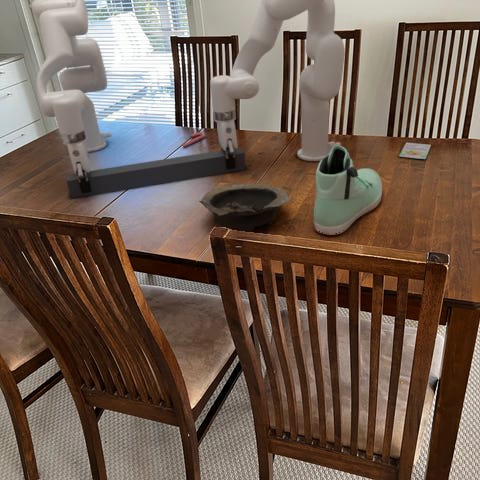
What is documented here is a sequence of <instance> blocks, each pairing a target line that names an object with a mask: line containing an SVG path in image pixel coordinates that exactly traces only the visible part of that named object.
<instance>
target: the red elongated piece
mask: <svg viewBox="0 0 480 480" xmlns="http://www.w3.org/2000/svg"><path fill="white" fill-rule="evenodd" d="M190 137H191V138H193V139H191V140H189V141H187V142H185V143H182V147H183V148H187V147H189V146H191V145H193V144H194V143H197V142H199V141H200V140H203V139H204V138H206V134H205V133H204V132H194V133H192V134H190Z"/></svg>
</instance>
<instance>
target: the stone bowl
mask: <svg viewBox="0 0 480 480" xmlns="http://www.w3.org/2000/svg"><path fill="white" fill-rule="evenodd" d="M288 201H290V197H289V195H288V194H287V192H286V191H285V190H284V189H282V188H281V187H278V186H273V185H270V184H262V183H241V184H237V183H236V184H229V185H225V186H221V187H218V188H213V189H211V190H209V191H208V192H206V193H205V194H204V195H203V197H202V198H201V200H198V202H199V203H200V204H201V205H202V206H204V208H206V209H207V210H208V211H210V212H211V213H212V216H213V220H214V222H215V223H216V224H218V225H219V227H220V228H221V227H226V228H229V229H232V230H237V231H245V232H249V233H252V232H254V230H255V228H256V227H263V225H271V224H272V223H273V222H274V220H275V216H276V213H277V209H278V208H280V207H281V206H284V205H285V204H287V202H288Z"/></svg>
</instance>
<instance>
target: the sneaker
mask: <svg viewBox="0 0 480 480" xmlns="http://www.w3.org/2000/svg"><path fill="white" fill-rule="evenodd" d="M317 165H318V166H317V168H316V172H315V201H314V207H313V225H314V229H315V231H316V232H318V233H320V234H323V235H326V236H327V235H328V236H336V235H339V234H342V233H344V232H345V231H347V230H348V229H349V228H350V227H351V226H352V225H353V224H354V222H356V221H357V220H358V219H359V218H360V217H362V216H363V215H365V214H367V213H370V212H372V210H374V209H375V208H377V207H378V205H380V203H381V200H382V196H383V184H382V183H383V182H382V179H381V176H380V175H379V173H378V172H377V171H376V170H374V169H372V168H367V167H365V168H358V169H357V168H355V167H354V161H353V159H352V158H351V156H350V153H349V152H348V150H347V148H345V147H344V146H342V145H341V146H334V147H333V148H332V149H331V152H330V154H329V155H327V156H326V157H325V158H324V159H322V160H321V161H319V163H318V164H317ZM343 230H344V231H343ZM319 231H320V232H319ZM322 232H323V233H322ZM339 232H340V233H339ZM326 233H327V234H326ZM328 233H329V234H328ZM335 233H337V234H335Z"/></svg>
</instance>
